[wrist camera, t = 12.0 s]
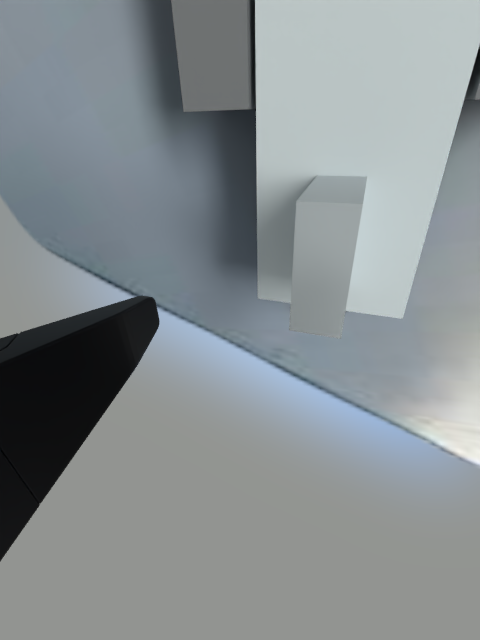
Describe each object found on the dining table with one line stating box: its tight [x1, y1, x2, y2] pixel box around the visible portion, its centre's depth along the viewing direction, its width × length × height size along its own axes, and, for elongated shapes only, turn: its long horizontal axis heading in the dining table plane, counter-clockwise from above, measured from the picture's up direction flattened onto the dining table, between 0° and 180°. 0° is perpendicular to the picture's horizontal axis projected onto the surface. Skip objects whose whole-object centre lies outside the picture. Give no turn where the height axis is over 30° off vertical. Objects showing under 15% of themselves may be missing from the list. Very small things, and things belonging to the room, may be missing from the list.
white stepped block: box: [255, 0, 480, 339], centre depth 13 cm, size 14×7×7 cm, turn 2°
